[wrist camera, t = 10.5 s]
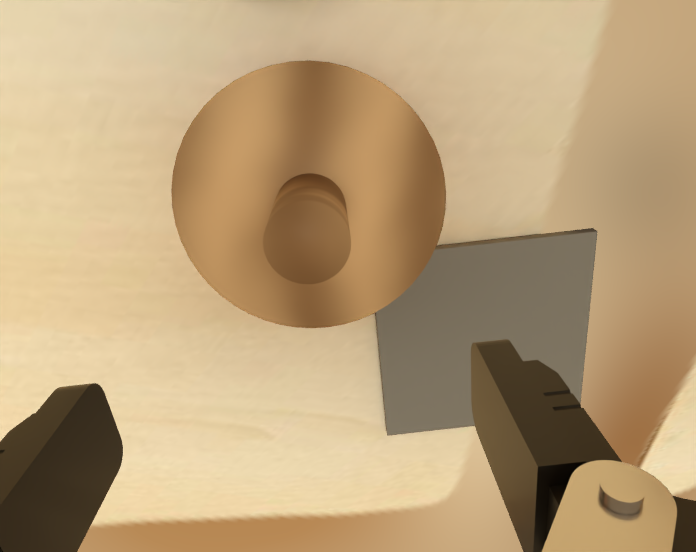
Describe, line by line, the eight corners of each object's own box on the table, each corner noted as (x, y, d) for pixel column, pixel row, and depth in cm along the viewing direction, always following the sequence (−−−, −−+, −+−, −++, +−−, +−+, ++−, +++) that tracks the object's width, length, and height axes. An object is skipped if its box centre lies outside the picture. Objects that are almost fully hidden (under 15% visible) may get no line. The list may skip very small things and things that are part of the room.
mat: (592, 228, 32) (597, 231, 31) (575, 408, 37) (579, 413, 37) (369, 253, 32) (370, 256, 31) (386, 429, 37) (387, 435, 37)
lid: (436, 44, 22) (472, 40, 17) (445, 304, 28) (475, 365, 22) (145, 79, 22) (87, 86, 17) (209, 332, 28) (181, 400, 22)
